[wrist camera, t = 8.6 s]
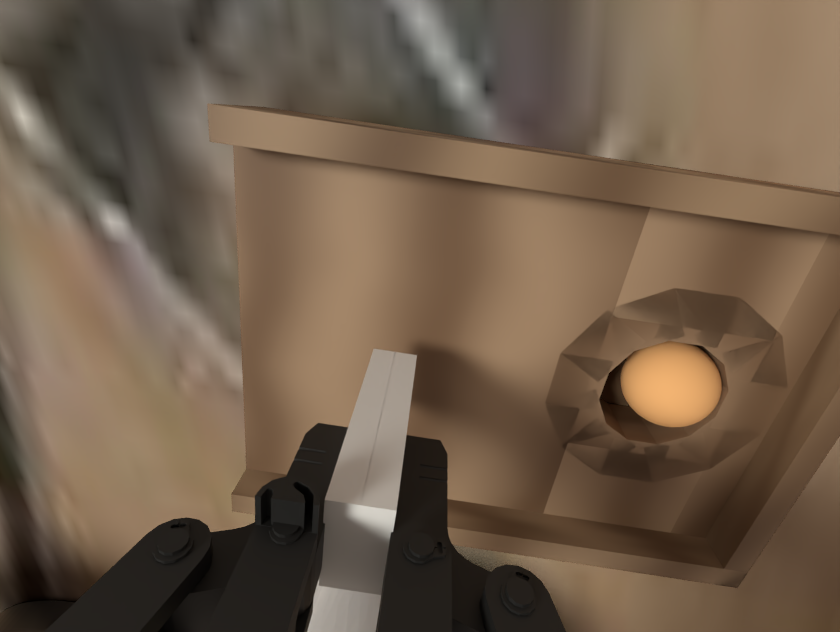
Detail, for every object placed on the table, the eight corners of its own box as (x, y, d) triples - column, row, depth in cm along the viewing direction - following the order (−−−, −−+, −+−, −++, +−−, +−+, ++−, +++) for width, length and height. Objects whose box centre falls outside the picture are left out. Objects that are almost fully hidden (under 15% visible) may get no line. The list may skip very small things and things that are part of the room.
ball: (600, 419, 18) (687, 458, 17) (646, 366, 15) (749, 409, 15) (609, 362, 20) (686, 395, 20) (650, 308, 18) (739, 344, 17)
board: (267, 447, 23) (232, 511, 19) (263, 107, 16) (207, 103, 12) (691, 512, 23) (737, 587, 19) (863, 195, 16) (986, 219, 12)
